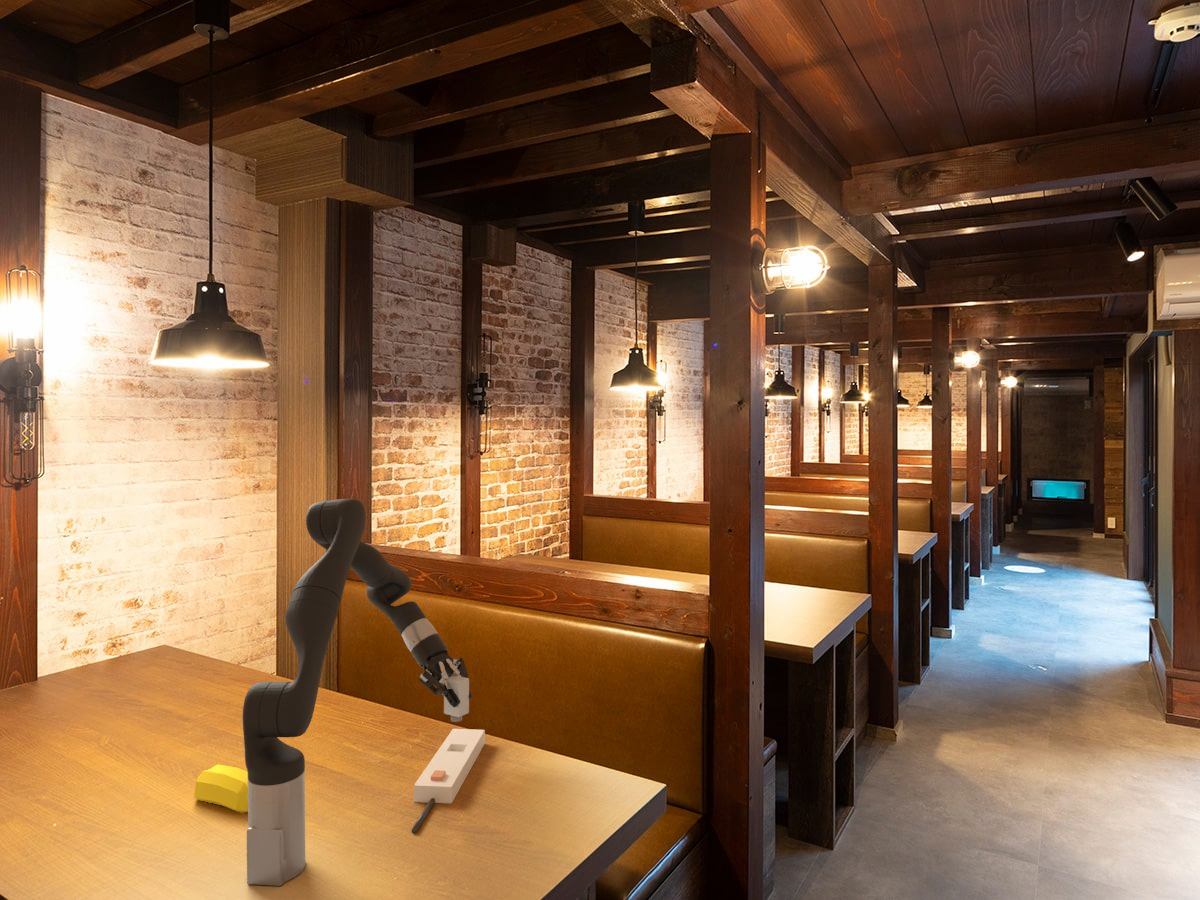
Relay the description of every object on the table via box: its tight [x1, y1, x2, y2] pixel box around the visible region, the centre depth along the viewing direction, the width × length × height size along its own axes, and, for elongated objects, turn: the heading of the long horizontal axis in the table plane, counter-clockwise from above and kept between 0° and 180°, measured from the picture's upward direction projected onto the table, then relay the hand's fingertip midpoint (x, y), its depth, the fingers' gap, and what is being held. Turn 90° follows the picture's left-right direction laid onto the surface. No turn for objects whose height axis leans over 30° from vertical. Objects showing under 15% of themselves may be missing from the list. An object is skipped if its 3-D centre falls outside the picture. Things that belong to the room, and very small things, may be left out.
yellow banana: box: [193, 763, 248, 814], centre depth 159 cm, size 18×7×8 cm
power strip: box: [411, 728, 486, 834], centre depth 167 cm, size 42×8×4 cm, turn 175°
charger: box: [443, 675, 470, 723], centre depth 177 cm, size 4×4×10 cm
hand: (463, 702), depth 176 cm, fingers closed on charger, 3 cm apart
